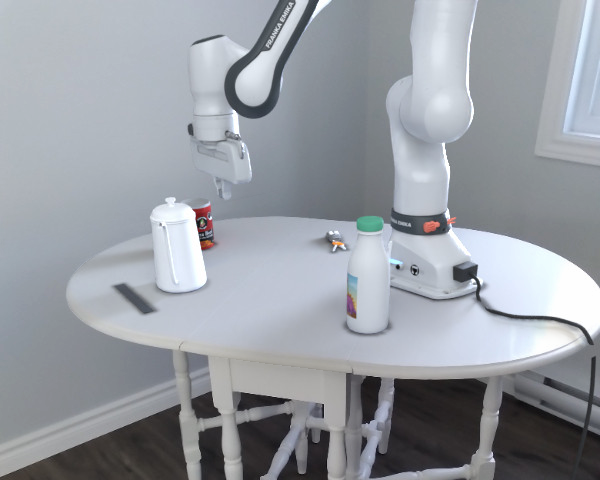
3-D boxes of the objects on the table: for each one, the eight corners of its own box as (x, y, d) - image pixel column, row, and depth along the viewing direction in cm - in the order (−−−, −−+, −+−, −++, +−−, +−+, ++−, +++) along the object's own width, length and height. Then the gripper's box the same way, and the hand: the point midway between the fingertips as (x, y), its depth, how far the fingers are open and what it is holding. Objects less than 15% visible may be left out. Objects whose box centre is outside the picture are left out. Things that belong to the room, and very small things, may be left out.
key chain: (324, 236, 166) (324, 230, 165) (338, 235, 166) (338, 229, 165) (332, 252, 155) (332, 246, 154) (347, 251, 155) (347, 245, 154)
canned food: (190, 252, 158) (185, 208, 152) (180, 244, 164) (174, 200, 158) (219, 247, 161) (215, 203, 155) (208, 239, 167) (203, 196, 161)
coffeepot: (145, 309, 129) (128, 216, 119) (167, 266, 150) (155, 184, 140) (198, 308, 128) (186, 214, 119) (213, 265, 150) (204, 183, 140)
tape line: (153, 310, 128) (153, 310, 128) (144, 313, 127) (144, 312, 127) (123, 284, 141) (123, 283, 141) (114, 286, 140) (114, 285, 140)
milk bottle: (392, 319, 121) (397, 213, 110) (383, 337, 115) (387, 226, 104) (352, 315, 123) (354, 211, 113) (341, 332, 117) (342, 223, 106)
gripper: (256, 132, 122) (261, 205, 129) (209, 121, 137) (217, 187, 144) (226, 136, 119) (234, 211, 126) (182, 125, 134) (191, 192, 141)
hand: (224, 198), depth 135 cm, fingers closed
